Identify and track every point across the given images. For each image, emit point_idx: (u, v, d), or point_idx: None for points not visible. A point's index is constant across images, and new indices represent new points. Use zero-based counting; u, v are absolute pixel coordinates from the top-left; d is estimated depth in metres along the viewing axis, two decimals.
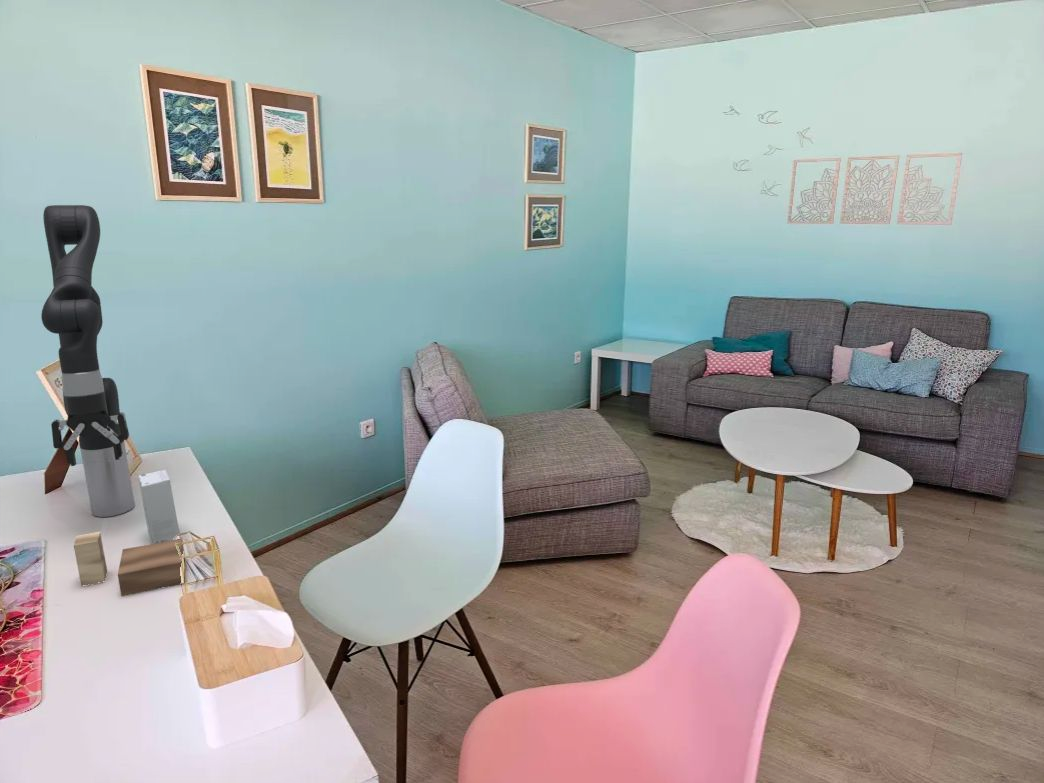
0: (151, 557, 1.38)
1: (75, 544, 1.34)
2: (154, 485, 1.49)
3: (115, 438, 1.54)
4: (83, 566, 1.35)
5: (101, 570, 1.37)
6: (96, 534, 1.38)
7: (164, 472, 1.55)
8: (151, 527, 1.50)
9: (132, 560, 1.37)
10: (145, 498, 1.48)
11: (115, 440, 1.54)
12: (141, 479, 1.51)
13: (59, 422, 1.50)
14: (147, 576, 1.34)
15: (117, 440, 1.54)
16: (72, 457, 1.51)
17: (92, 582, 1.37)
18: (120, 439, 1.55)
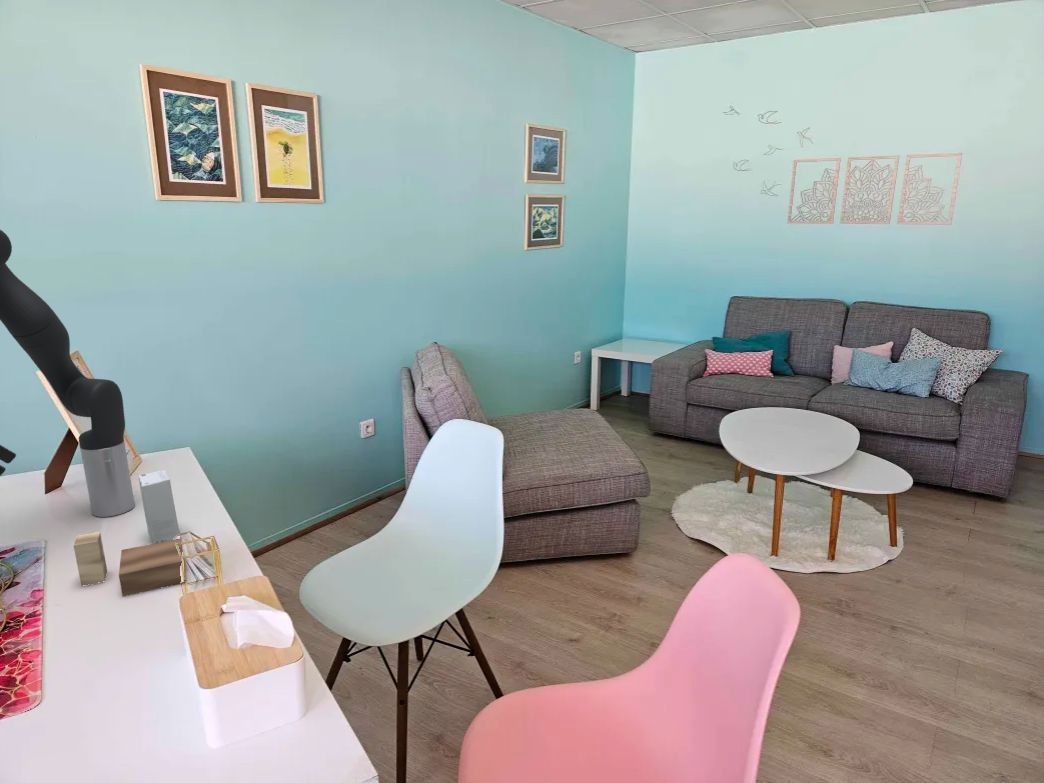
0: (152, 557, 1.38)
1: (75, 544, 1.34)
2: (155, 485, 1.49)
3: None
4: (83, 566, 1.35)
5: (101, 570, 1.37)
6: (96, 534, 1.38)
7: (164, 472, 1.55)
8: (151, 527, 1.50)
9: (132, 560, 1.37)
10: (145, 498, 1.48)
11: None
12: (141, 479, 1.51)
13: None
14: (149, 576, 1.34)
15: None
16: None
17: (92, 582, 1.37)
18: None
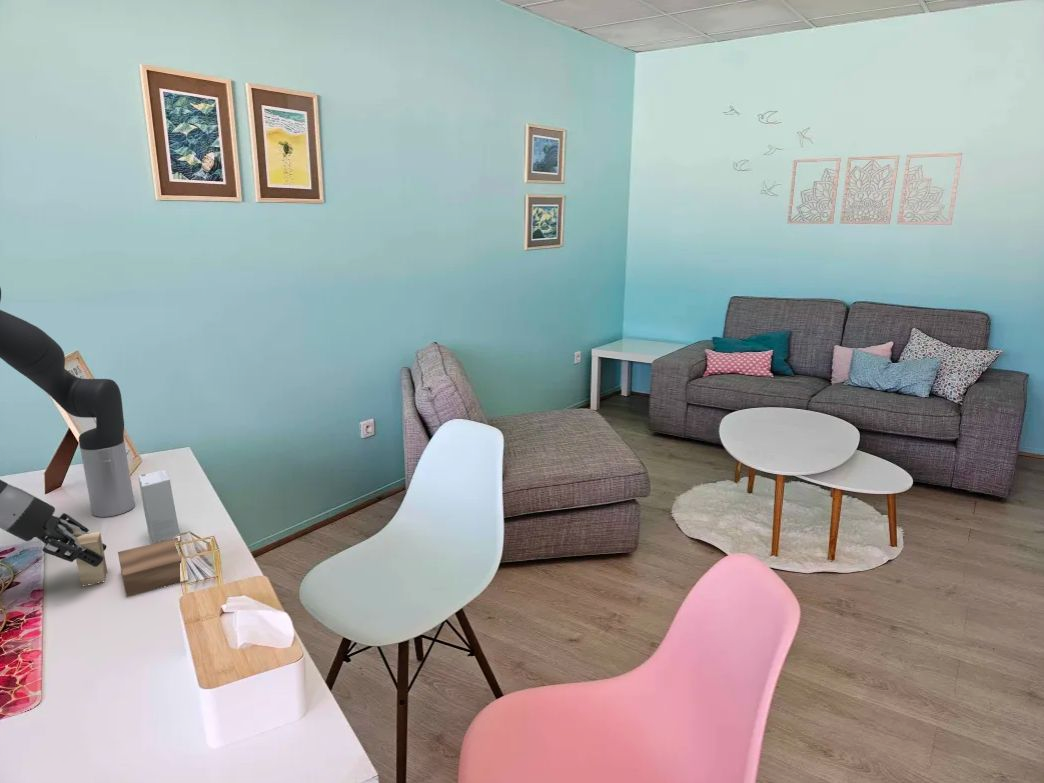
0: (152, 557, 1.38)
1: None
2: (155, 485, 1.49)
3: None
4: (83, 566, 1.35)
5: (101, 570, 1.37)
6: (96, 534, 1.38)
7: (164, 472, 1.55)
8: (151, 527, 1.50)
9: (132, 561, 1.36)
10: (145, 498, 1.48)
11: None
12: (141, 479, 1.51)
13: None
14: (152, 575, 1.34)
15: None
16: None
17: (92, 582, 1.37)
18: None
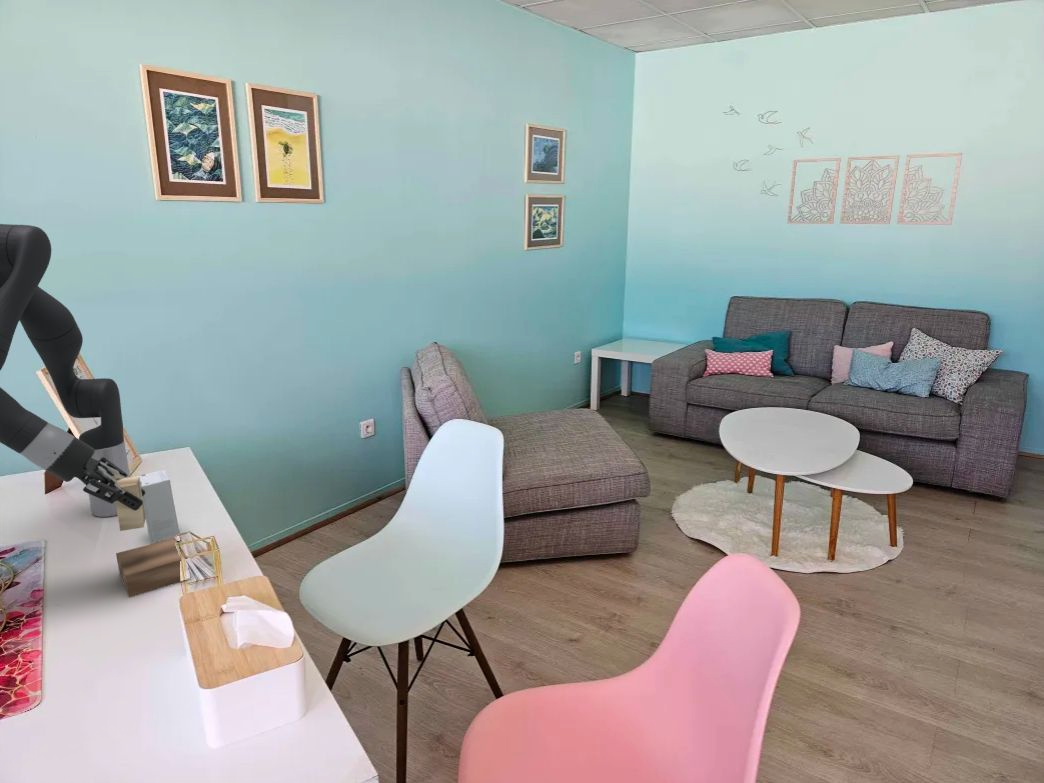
0: (153, 557, 1.38)
1: None
2: (154, 485, 1.49)
3: None
4: (122, 510, 1.32)
5: (140, 514, 1.34)
6: (135, 478, 1.35)
7: (164, 472, 1.55)
8: (151, 527, 1.50)
9: (133, 561, 1.36)
10: (145, 498, 1.48)
11: None
12: (141, 479, 1.51)
13: None
14: (155, 575, 1.34)
15: None
16: None
17: (131, 527, 1.34)
18: None
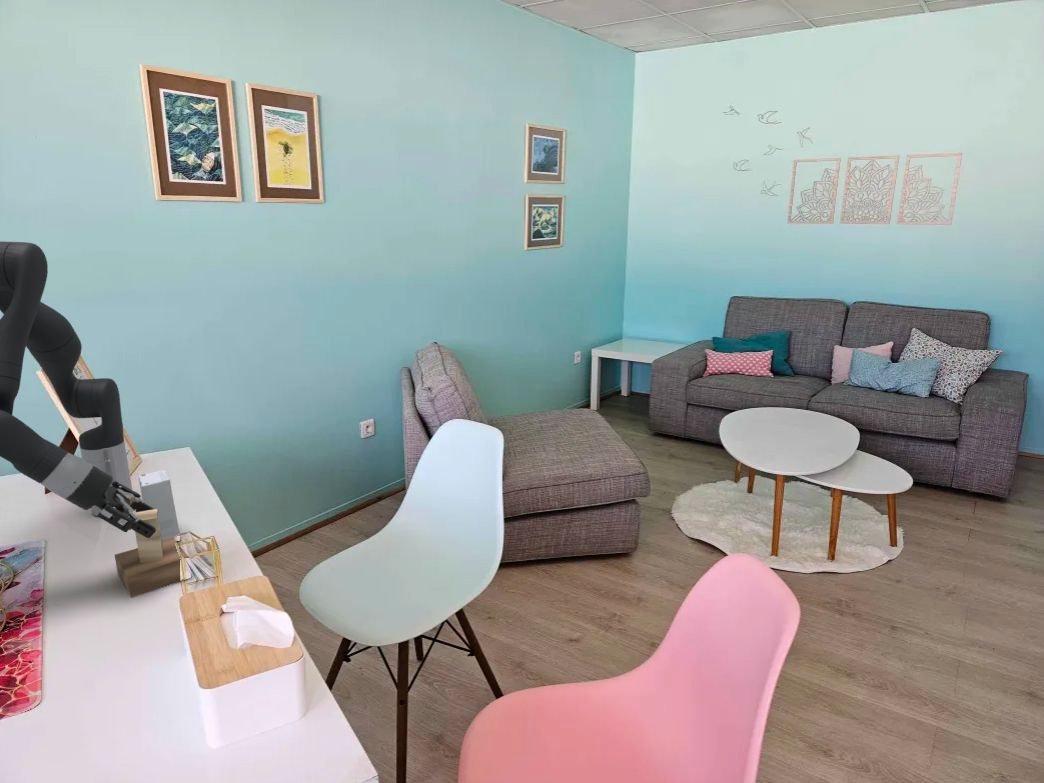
0: None
1: None
2: (155, 485, 1.49)
3: None
4: (142, 543, 1.35)
5: (160, 547, 1.36)
6: (154, 511, 1.37)
7: (164, 472, 1.55)
8: None
9: (133, 562, 1.36)
10: (145, 498, 1.48)
11: None
12: (141, 479, 1.51)
13: None
14: (156, 574, 1.34)
15: None
16: None
17: (151, 559, 1.36)
18: None
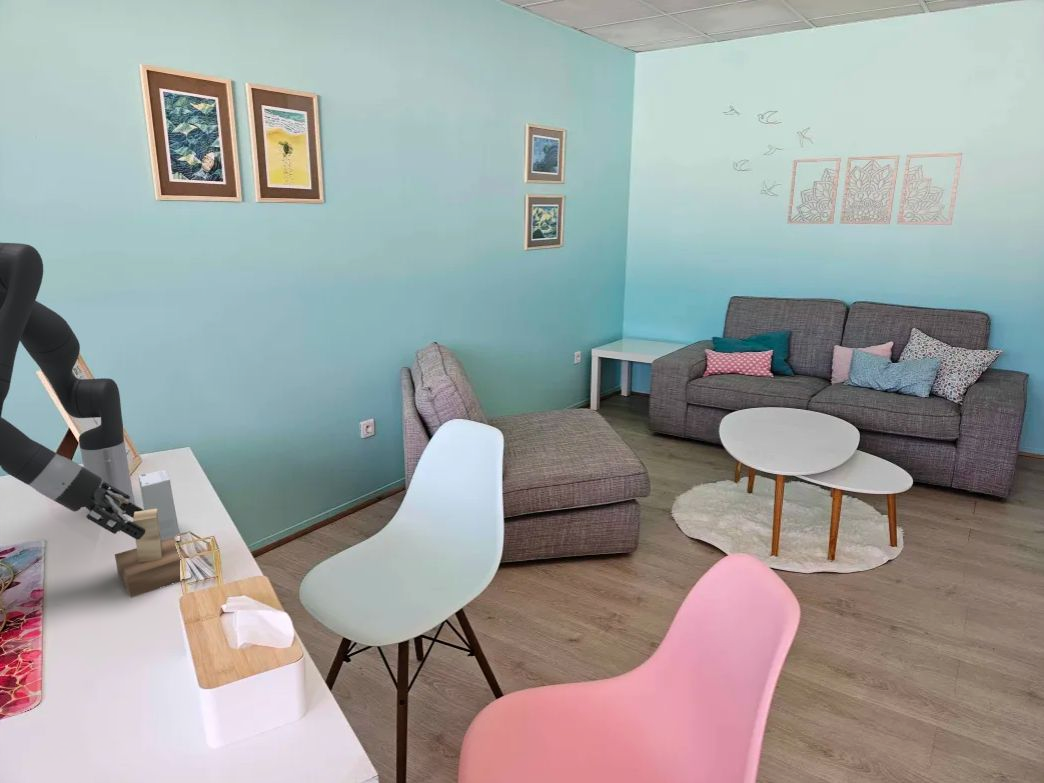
0: None
1: (134, 520, 1.34)
2: (155, 485, 1.49)
3: None
4: (141, 542, 1.35)
5: (158, 546, 1.36)
6: (154, 511, 1.38)
7: (164, 472, 1.55)
8: None
9: (133, 561, 1.36)
10: (145, 498, 1.48)
11: None
12: (141, 479, 1.51)
13: None
14: (157, 574, 1.35)
15: None
16: (132, 517, 1.39)
17: (149, 558, 1.36)
18: None
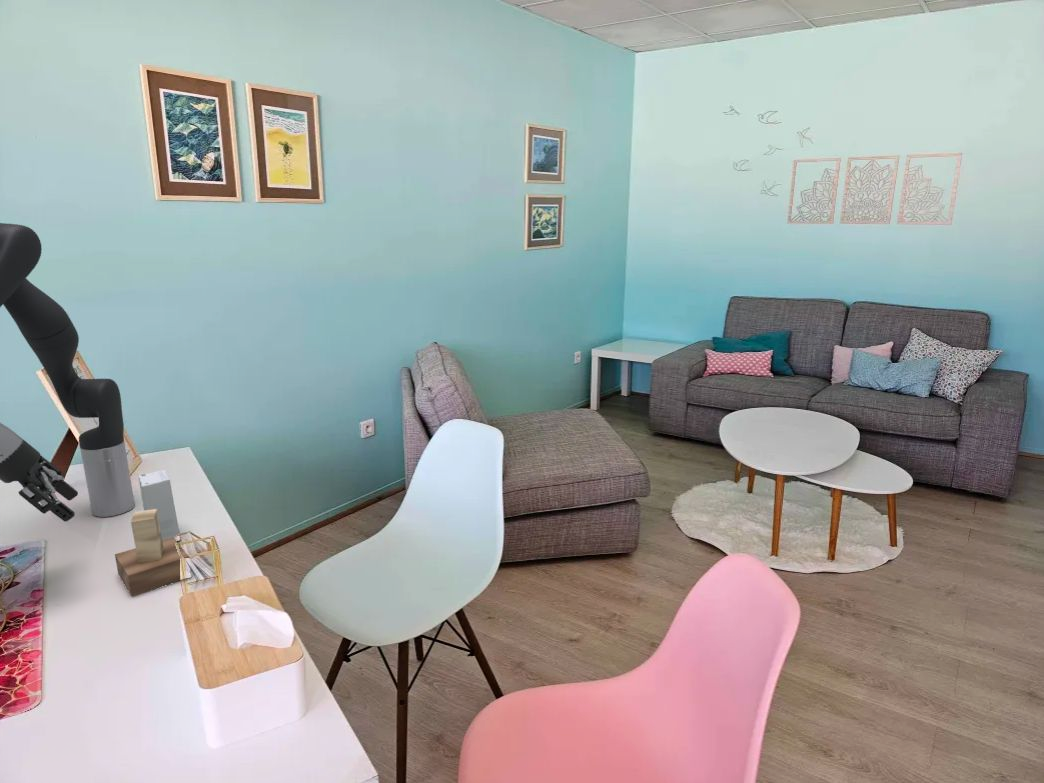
0: None
1: (132, 521, 1.33)
2: (155, 485, 1.49)
3: None
4: (140, 543, 1.35)
5: (158, 547, 1.36)
6: (153, 511, 1.37)
7: (164, 472, 1.55)
8: None
9: (134, 561, 1.36)
10: (145, 498, 1.48)
11: None
12: (141, 479, 1.51)
13: None
14: (157, 574, 1.35)
15: None
16: (61, 494, 1.37)
17: (149, 559, 1.36)
18: None
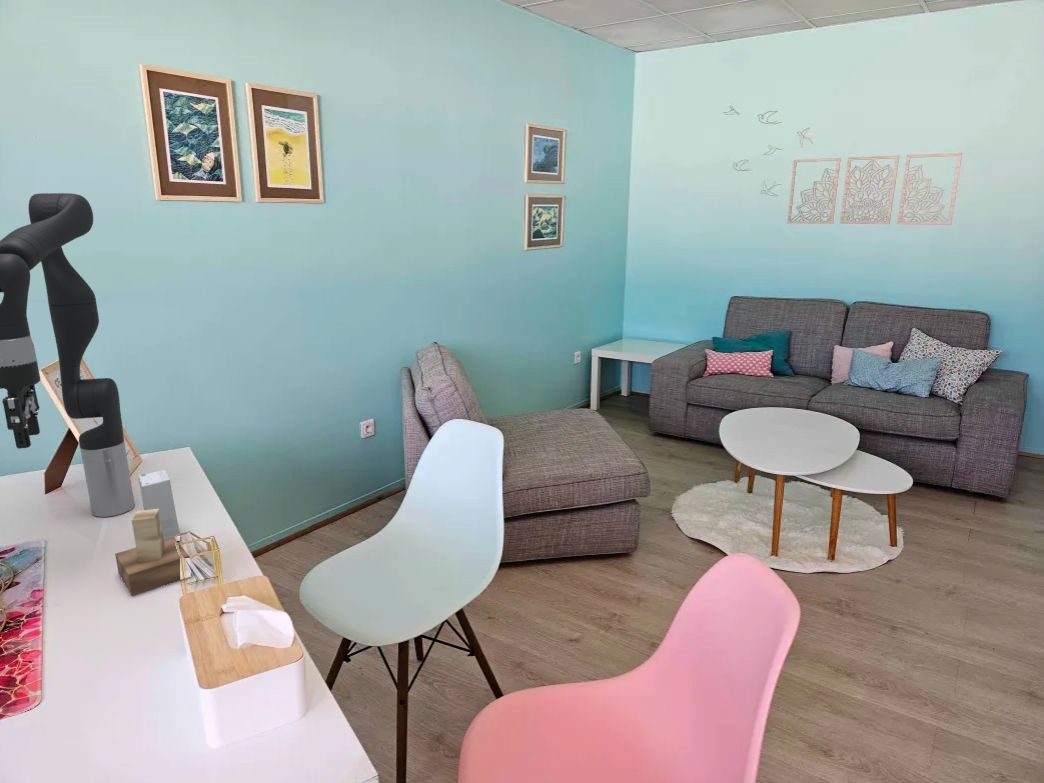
0: None
1: (133, 519, 1.34)
2: (155, 485, 1.49)
3: None
4: (140, 542, 1.35)
5: (158, 547, 1.36)
6: (155, 511, 1.38)
7: (164, 472, 1.55)
8: None
9: (134, 561, 1.36)
10: (145, 498, 1.48)
11: None
12: (141, 479, 1.51)
13: None
14: (157, 573, 1.35)
15: None
16: None
17: (149, 558, 1.36)
18: None
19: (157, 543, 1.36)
